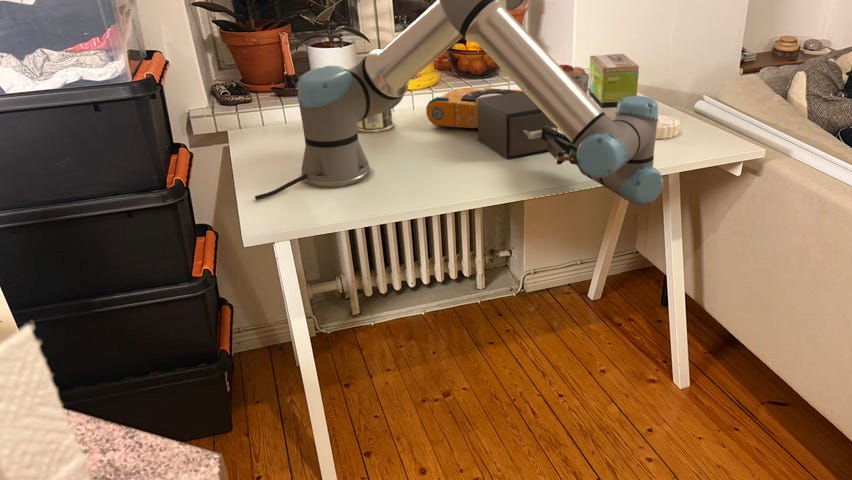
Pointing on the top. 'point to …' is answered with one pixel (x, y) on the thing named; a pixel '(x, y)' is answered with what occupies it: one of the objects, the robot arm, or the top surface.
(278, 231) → the top surface
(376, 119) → the coffee can
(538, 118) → the drawer
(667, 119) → the mooncake
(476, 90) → the device
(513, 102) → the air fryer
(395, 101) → the robot arm
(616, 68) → the tea box
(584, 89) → the food item
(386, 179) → the top surface
